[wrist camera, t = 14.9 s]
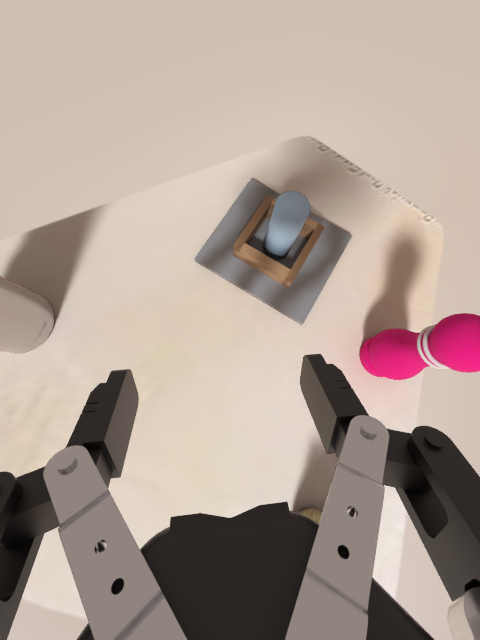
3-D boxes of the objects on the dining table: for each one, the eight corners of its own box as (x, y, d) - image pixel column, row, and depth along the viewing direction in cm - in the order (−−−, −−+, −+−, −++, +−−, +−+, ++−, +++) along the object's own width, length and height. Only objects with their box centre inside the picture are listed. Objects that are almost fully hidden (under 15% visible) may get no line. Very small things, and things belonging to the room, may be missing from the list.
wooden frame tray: (195, 261, 45) (192, 248, 41) (250, 182, 49) (254, 162, 45) (301, 324, 44) (310, 318, 40) (349, 238, 48) (362, 224, 44)
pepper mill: (375, 325, 45) (493, 280, 25) (409, 357, 44) (558, 336, 25) (347, 356, 43) (450, 334, 24) (381, 390, 43) (517, 396, 23)
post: (257, 250, 45) (268, 210, 34) (271, 229, 46) (286, 184, 35) (280, 265, 45) (299, 229, 34) (294, 244, 46) (316, 202, 35)
